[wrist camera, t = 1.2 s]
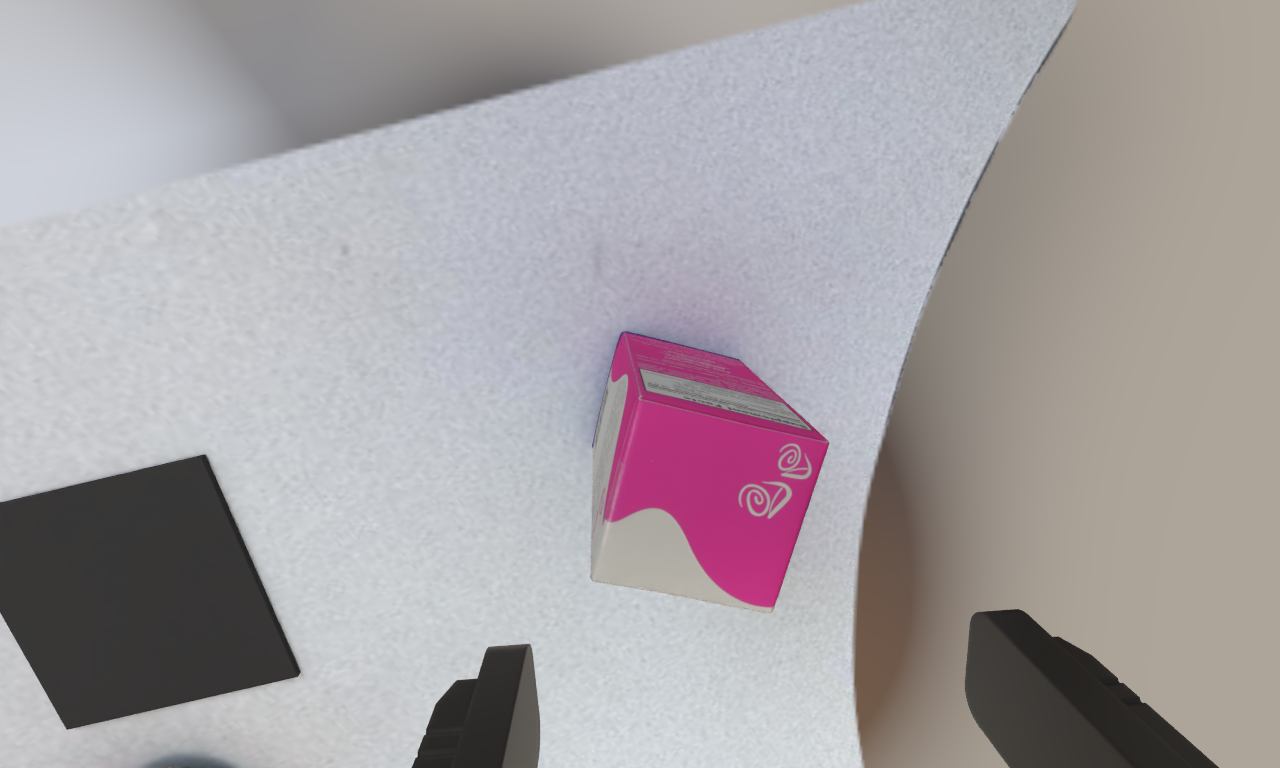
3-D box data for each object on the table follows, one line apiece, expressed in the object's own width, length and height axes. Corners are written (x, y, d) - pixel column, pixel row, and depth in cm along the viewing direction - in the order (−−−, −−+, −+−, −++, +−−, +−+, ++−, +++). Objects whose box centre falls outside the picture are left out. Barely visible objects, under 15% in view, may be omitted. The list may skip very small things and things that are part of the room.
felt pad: (-48, 514, 28) (-55, 517, 28) (204, 454, 28) (200, 456, 28) (71, 725, 31) (66, 730, 31) (300, 672, 31) (297, 676, 31)
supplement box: (711, 474, 29) (773, 624, 18) (590, 446, 29) (575, 584, 17) (747, 358, 28) (836, 443, 17) (620, 326, 27) (625, 392, 16)
